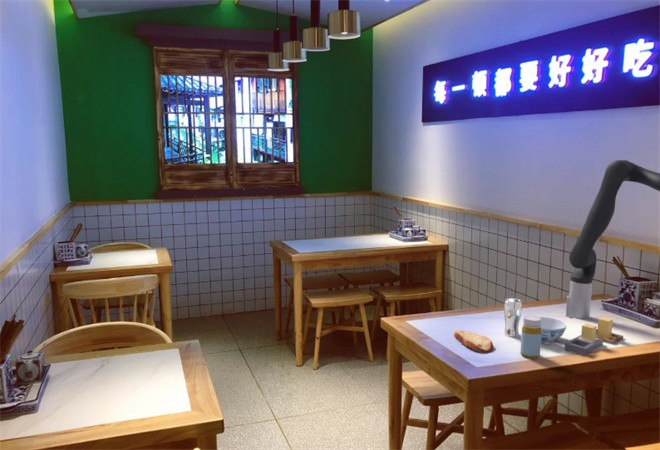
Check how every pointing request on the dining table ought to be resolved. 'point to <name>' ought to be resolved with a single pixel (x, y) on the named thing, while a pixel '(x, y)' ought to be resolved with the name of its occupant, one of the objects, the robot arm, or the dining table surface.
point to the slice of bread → (474, 341)
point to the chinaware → (551, 329)
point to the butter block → (605, 328)
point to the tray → (613, 338)
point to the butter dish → (584, 341)
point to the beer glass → (512, 316)
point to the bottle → (531, 337)
